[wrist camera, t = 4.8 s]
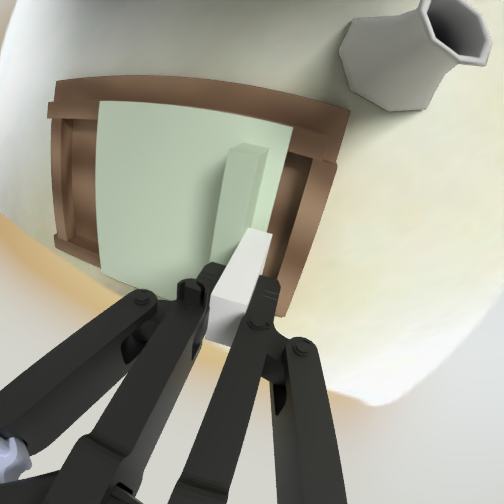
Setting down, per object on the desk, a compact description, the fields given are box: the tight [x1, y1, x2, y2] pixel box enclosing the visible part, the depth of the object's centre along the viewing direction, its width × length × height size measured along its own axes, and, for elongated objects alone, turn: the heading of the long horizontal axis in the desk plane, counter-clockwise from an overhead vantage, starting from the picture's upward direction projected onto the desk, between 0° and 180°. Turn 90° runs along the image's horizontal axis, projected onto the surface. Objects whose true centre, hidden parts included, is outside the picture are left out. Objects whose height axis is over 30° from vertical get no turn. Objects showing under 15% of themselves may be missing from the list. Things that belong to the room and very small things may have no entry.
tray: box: [47, 75, 350, 318], centre depth 20 cm, size 17×25×2 cm
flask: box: [338, 0, 492, 112], centre depth 9 cm, size 7×7×10 cm
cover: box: [95, 101, 294, 301], centre depth 17 cm, size 15×14×4 cm
